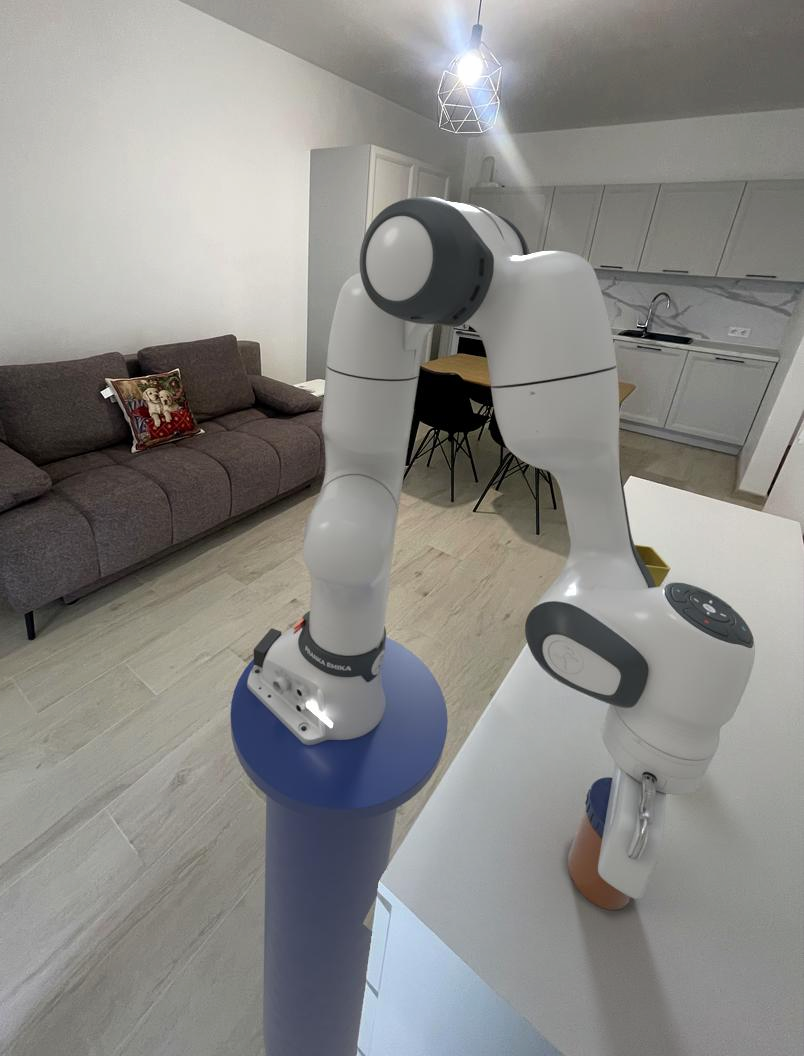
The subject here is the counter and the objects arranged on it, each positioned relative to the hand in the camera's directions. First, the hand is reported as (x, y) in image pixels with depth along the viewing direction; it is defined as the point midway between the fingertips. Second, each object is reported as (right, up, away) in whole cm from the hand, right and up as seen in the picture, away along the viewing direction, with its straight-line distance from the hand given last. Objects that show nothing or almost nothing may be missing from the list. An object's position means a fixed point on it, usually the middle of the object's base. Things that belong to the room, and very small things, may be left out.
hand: (615, 830), depth 54 cm
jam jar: (-1, -7, +3) cm, 8 cm away
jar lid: (0, +3, -1) cm, 3 cm away
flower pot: (+32, +11, +56) cm, 66 cm away
